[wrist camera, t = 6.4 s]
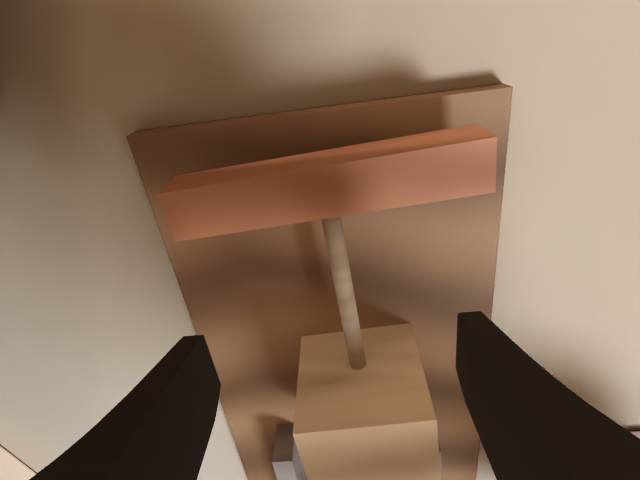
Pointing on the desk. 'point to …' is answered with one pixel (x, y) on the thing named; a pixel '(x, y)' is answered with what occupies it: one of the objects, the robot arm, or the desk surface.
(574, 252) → the desk surface
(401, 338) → the block
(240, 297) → the lane board
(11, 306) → the desk surface
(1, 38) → the desk surface
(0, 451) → the gable box
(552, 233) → the desk surface
